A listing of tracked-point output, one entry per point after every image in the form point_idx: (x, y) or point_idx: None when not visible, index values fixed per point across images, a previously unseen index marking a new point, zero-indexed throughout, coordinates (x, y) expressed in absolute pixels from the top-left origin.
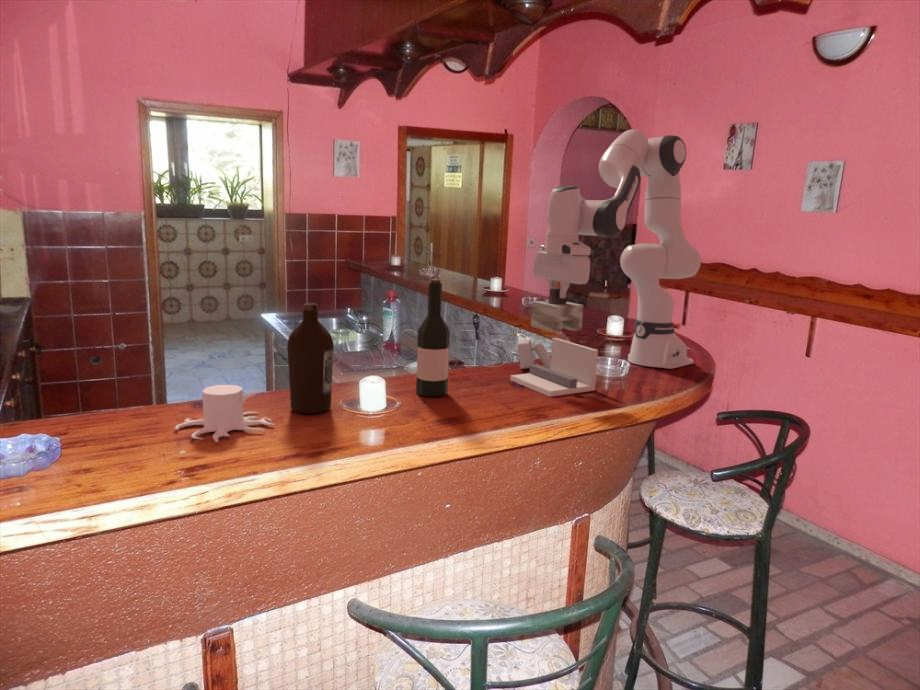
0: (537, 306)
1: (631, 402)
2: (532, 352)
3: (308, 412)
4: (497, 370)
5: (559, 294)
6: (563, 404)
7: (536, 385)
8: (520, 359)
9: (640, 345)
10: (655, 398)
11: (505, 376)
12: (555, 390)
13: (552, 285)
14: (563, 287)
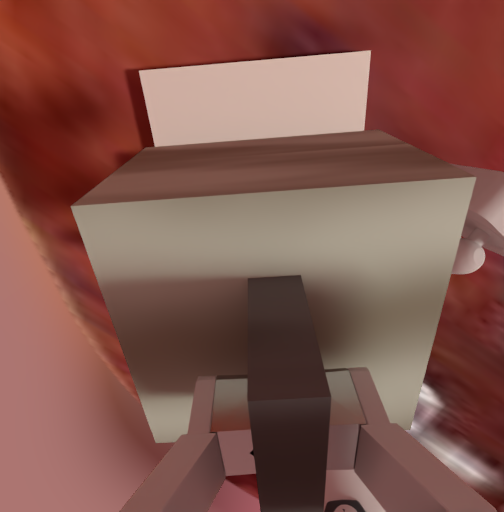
0: (359, 172)
1: (65, 260)
2: (487, 246)
3: None
4: (498, 85)
5: (214, 399)
6: (58, 64)
7: (217, 67)
8: (463, 169)
9: (334, 480)
10: (91, 324)
11: (418, 66)
12: (145, 98)
13: (412, 499)
14: (132, 504)
